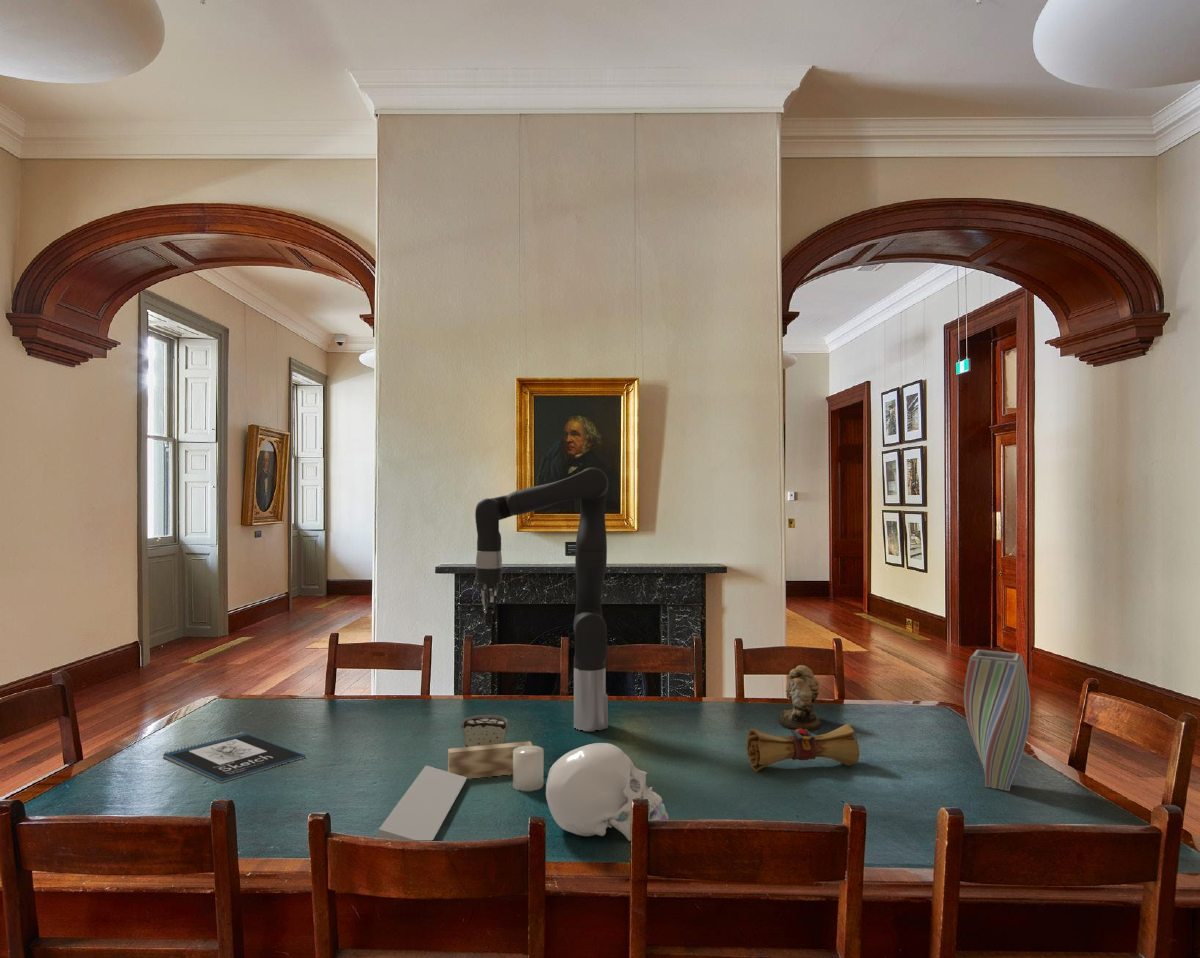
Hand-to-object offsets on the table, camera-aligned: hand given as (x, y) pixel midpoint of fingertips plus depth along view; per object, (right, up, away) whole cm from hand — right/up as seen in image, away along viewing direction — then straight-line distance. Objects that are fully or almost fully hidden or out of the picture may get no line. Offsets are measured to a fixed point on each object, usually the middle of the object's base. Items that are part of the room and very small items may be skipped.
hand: (488, 625), depth 220 cm
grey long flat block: (-4, -28, -64) cm, 70 cm away
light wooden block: (+6, -28, -39) cm, 48 cm away
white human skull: (+34, -27, -71) cm, 83 cm away
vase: (+125, -28, -47) cm, 136 cm away
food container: (+4, -28, -28) cm, 40 cm away
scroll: (+83, -29, -34) cm, 94 cm away
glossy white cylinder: (+16, -28, -47) cm, 57 cm away
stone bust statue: (+92, -30, +3) cm, 96 cm away
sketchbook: (-61, -29, -29) cm, 73 cm away
